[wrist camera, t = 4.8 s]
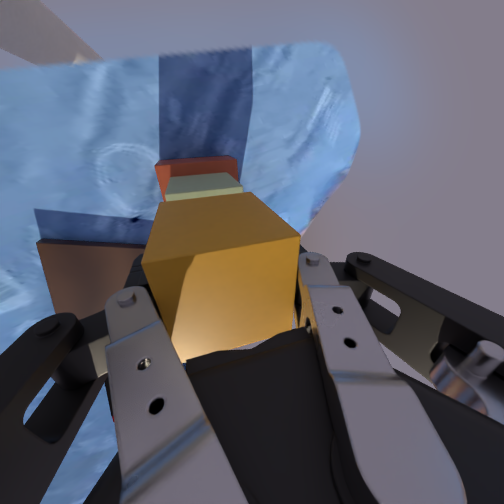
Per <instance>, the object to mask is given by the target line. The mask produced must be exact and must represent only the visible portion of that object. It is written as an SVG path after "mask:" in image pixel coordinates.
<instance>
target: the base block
mask: <svg viewBox="0 0 504 504" xmlns="http://www.w3.org/2000/svg"><path fill="white" fill-rule="evenodd" d="M155 170H156V174H157V177H158V181H159V185H160V189H161V193H162V197H163V200H164V202H166V198H165V192H166V189H167V186H168V183H169V180H170V177H177V176H189V175H200V174H211V173H223V172H227V173H228V174H230V175H231V176H232V177H233V178H234V179H235V180H236V181H237V182H238V168H237V159H235V158H233V157H231V156H213V157H199V158H184V159H170V160H159V161H158V162H157V164H156V165H155Z"/></svg>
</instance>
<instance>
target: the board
mask: <svg viewBox="0 0 504 504" xmlns="http://www.w3.org/2000/svg"><path fill="white" fill-rule="evenodd" d="M36 245H37V249H38V252H39V256H40V259H41V263H42V266H43V270H44V274H45V277H46V281H47V284H48V288H49V292H50V295H51V299H52V302H53V306H54V309H55V313H56V314H58V313H64V312H70V313H73V314H75V315H76V317H77V318H78V320H80V319H83V318H85V317H88V316H90V315H93V314H95V313H98V312H100V311H102V310H104V309H105V303H106V301H107V300H108V299H109V298H110V297H111V296H112V295H113V294H115V293H116V292H118V291H120V290H122V289H123V288H124V285H125V283H126V280H127V277H128V275H129V273H130V269H131V268H132V264H133V261H134V260H135V259H136V258H137V257H138V256H139V255H140V254H144V251H145V248H146V245H138V244H122V243H105V242H89V241H72V240H56V239H41V240H39V241H38V242H36ZM165 328H166V327H165ZM166 331H167V330H166Z"/></svg>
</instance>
